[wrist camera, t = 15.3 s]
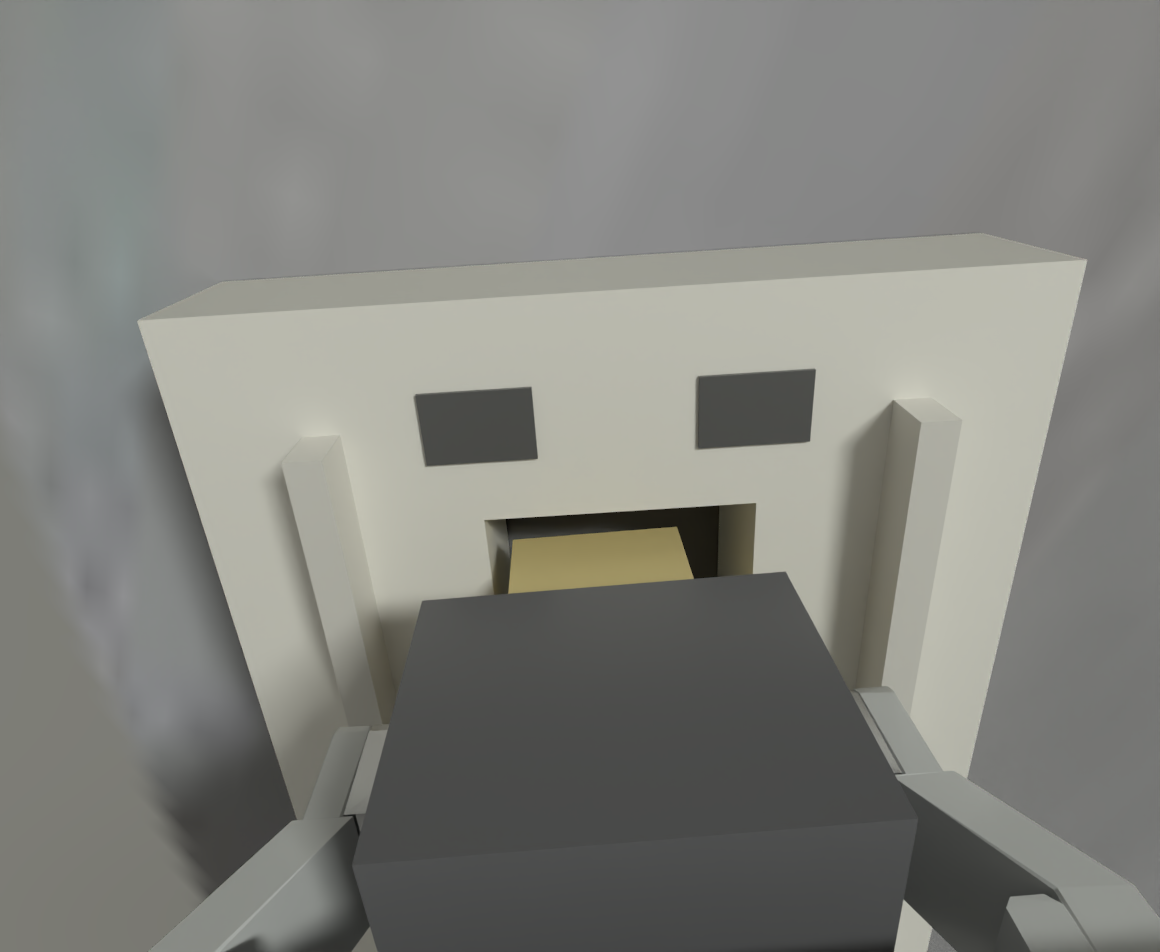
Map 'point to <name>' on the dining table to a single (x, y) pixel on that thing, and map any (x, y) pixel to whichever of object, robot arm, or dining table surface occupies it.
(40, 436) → the dining table surface
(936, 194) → the dining table surface
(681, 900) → the plug
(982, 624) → the socket plate
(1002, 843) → the robot arm
